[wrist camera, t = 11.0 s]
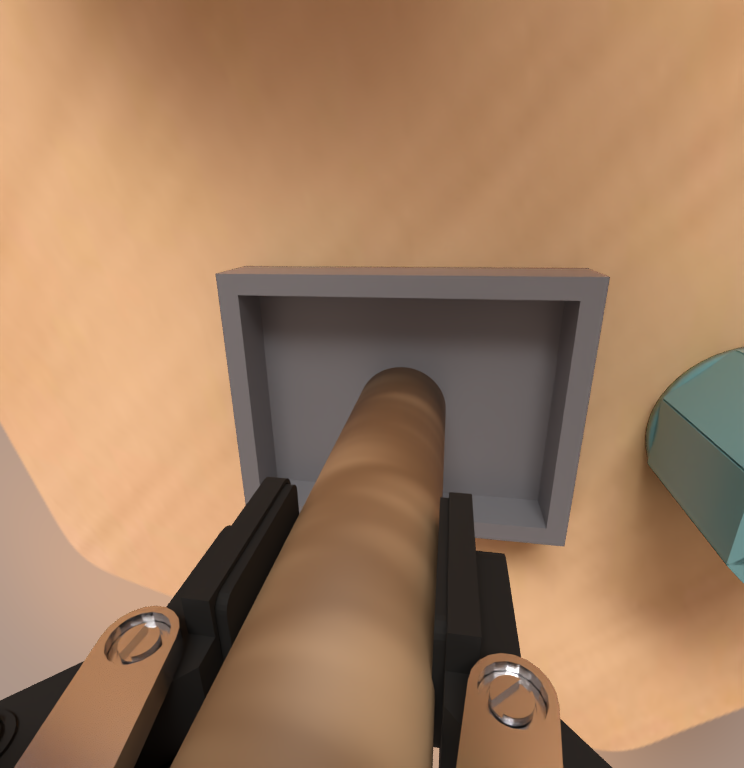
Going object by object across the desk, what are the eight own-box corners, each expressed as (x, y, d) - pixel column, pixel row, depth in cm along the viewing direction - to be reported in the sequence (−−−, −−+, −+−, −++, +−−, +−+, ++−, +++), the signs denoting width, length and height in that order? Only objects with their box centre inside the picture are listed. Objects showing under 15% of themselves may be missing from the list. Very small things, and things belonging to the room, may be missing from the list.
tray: (588, 268, 17) (609, 277, 15) (551, 508, 21) (564, 546, 19) (244, 266, 20) (215, 273, 17) (268, 484, 23) (247, 515, 21)
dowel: (447, 368, 18) (428, 901, 4) (443, 449, 19) (419, 1065, 5) (358, 365, 18) (75, 821, 5) (360, 443, 20) (142, 986, 6)
